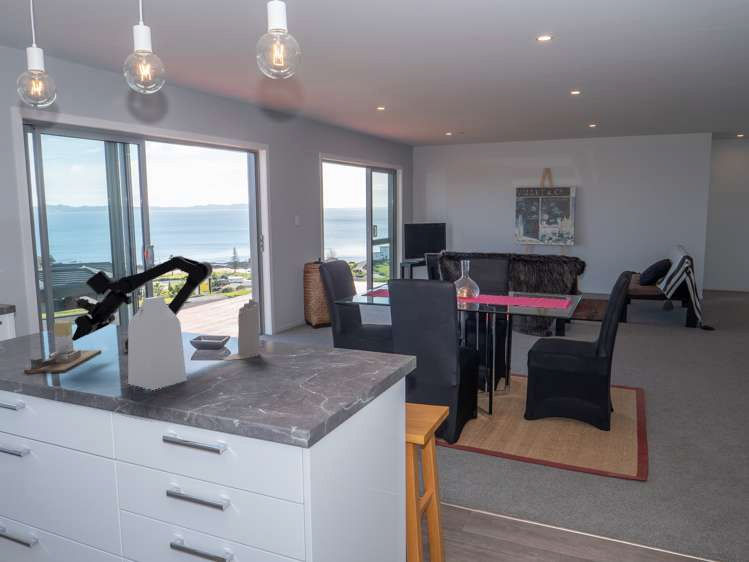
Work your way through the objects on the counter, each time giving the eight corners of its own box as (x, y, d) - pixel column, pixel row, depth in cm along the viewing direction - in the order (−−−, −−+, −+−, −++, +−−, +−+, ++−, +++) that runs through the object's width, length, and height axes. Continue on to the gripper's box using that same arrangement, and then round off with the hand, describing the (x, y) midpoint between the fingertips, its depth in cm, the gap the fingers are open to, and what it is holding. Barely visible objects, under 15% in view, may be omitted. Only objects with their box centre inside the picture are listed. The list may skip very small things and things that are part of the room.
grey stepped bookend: (218, 357, 201) (216, 302, 199) (253, 351, 210) (252, 298, 208) (228, 361, 196) (226, 304, 194) (263, 355, 205) (262, 300, 203)
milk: (152, 390, 164) (148, 301, 161) (128, 384, 170) (123, 298, 167) (186, 380, 174) (182, 296, 171) (162, 374, 180) (158, 293, 177)
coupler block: (73, 357, 198) (71, 321, 196) (68, 360, 194) (65, 323, 192) (62, 358, 198) (59, 321, 196) (56, 361, 194) (53, 323, 192)
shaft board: (101, 352, 209) (100, 342, 209) (65, 372, 183) (64, 360, 183) (65, 353, 209) (64, 342, 208) (24, 373, 183) (23, 360, 182)
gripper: (103, 285, 202) (74, 316, 203) (78, 292, 184) (46, 326, 185) (127, 306, 204) (98, 337, 205) (104, 315, 185) (73, 349, 186)
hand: (79, 337), depth 195 cm, fingers open, 9 cm apart
